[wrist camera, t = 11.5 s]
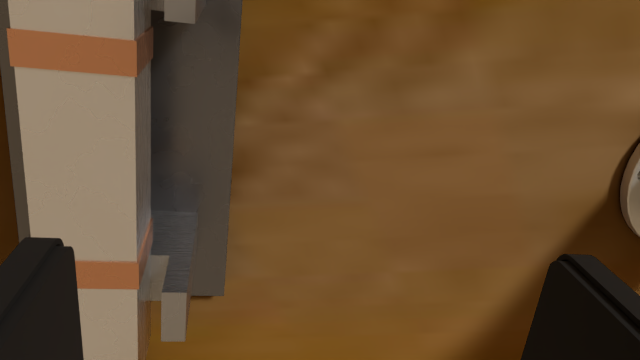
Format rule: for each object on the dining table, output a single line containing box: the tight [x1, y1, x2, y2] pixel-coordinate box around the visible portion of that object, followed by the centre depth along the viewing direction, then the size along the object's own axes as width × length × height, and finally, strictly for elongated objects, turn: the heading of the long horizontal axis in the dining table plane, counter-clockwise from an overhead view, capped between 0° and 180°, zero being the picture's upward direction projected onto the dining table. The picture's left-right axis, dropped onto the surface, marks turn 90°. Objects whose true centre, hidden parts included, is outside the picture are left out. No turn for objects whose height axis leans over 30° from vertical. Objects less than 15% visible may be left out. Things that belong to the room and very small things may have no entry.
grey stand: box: [0, 0, 242, 341], centre depth 28 cm, size 13×26×10 cm, turn 173°
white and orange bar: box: [7, 0, 153, 360], centre depth 24 cm, size 24×5×5 cm, turn 173°
